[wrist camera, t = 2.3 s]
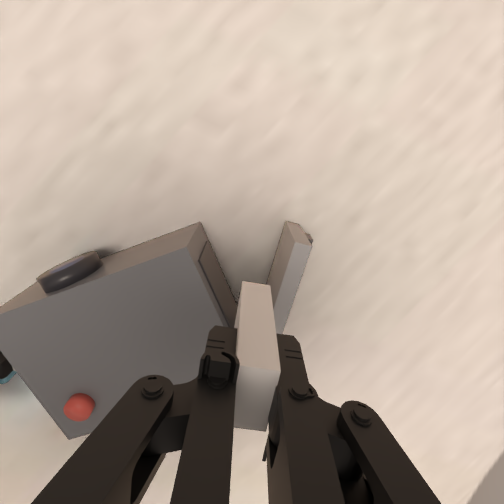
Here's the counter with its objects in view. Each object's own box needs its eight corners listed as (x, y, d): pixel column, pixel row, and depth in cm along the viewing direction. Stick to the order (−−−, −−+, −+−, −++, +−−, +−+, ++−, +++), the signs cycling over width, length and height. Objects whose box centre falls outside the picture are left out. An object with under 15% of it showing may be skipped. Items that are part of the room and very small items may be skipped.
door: (250, 336, 30) (251, 378, 25) (285, 221, 26) (295, 242, 21) (267, 339, 30) (271, 382, 25) (305, 226, 27) (319, 248, 21)
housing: (102, 382, 32) (63, 448, 26) (28, 270, 28) (-43, 313, 21) (251, 334, 31) (252, 391, 24) (196, 207, 26) (178, 232, 20)
